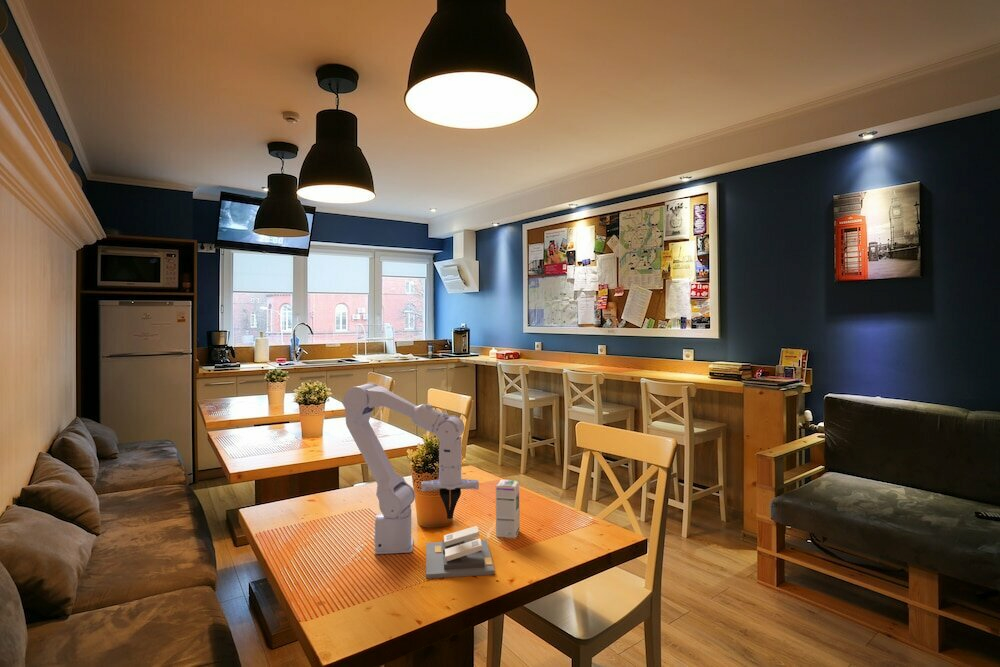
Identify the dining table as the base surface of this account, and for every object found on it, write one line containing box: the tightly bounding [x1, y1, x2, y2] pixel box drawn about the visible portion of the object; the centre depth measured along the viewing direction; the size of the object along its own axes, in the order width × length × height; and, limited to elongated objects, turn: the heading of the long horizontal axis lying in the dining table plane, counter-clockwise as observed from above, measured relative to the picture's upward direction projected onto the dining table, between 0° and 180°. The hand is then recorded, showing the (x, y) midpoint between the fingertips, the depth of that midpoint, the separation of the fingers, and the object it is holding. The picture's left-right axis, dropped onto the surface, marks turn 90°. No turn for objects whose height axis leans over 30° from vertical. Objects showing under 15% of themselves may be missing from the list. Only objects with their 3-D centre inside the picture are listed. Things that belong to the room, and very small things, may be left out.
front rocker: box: [445, 537, 483, 561], centre depth 127 cm, size 9×4×1 cm, turn 97°
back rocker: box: [443, 525, 481, 547], centre depth 135 cm, size 9×4×1 cm, turn 97°
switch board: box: [425, 537, 496, 580], centre depth 131 cm, size 16×17×3 cm
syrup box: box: [495, 479, 521, 539], centre depth 147 cm, size 6×6×14 cm
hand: (449, 517), depth 134 cm, fingers closed
